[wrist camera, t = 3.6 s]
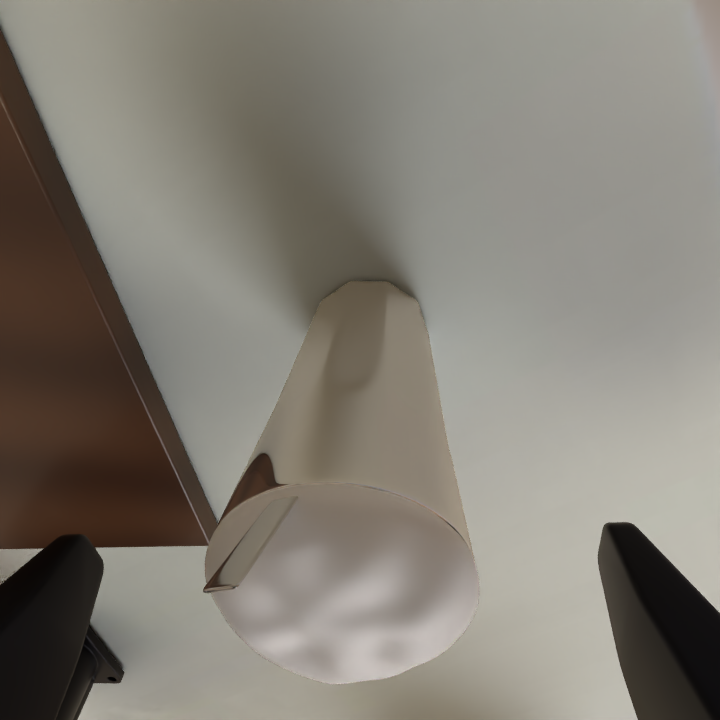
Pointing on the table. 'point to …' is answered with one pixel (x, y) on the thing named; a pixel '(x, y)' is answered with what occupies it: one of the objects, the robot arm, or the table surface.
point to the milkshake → (350, 505)
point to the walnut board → (75, 372)
